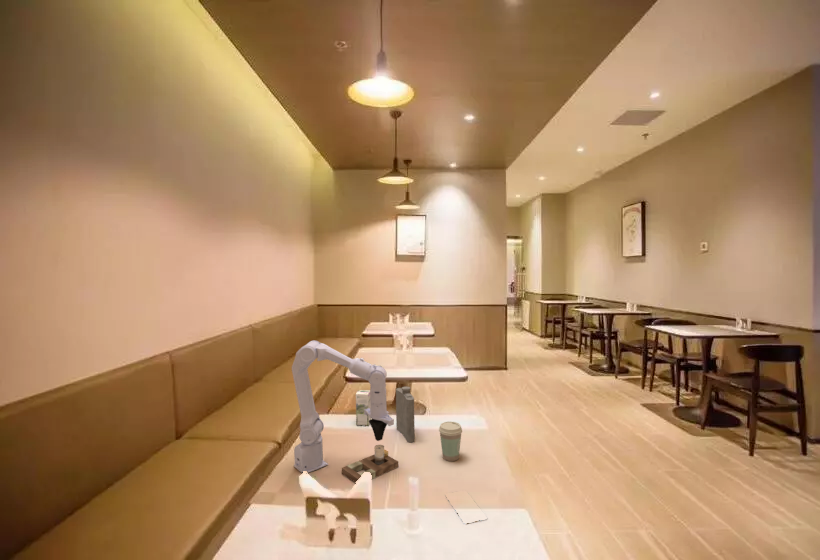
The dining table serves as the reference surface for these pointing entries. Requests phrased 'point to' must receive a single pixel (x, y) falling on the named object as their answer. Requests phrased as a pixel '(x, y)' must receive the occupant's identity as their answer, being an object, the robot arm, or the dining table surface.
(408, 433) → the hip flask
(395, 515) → the dining table surface
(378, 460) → the frosted round dowel plug
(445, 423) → the coffee cup
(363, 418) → the syrup box
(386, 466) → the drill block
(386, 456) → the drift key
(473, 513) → the dining table surface
